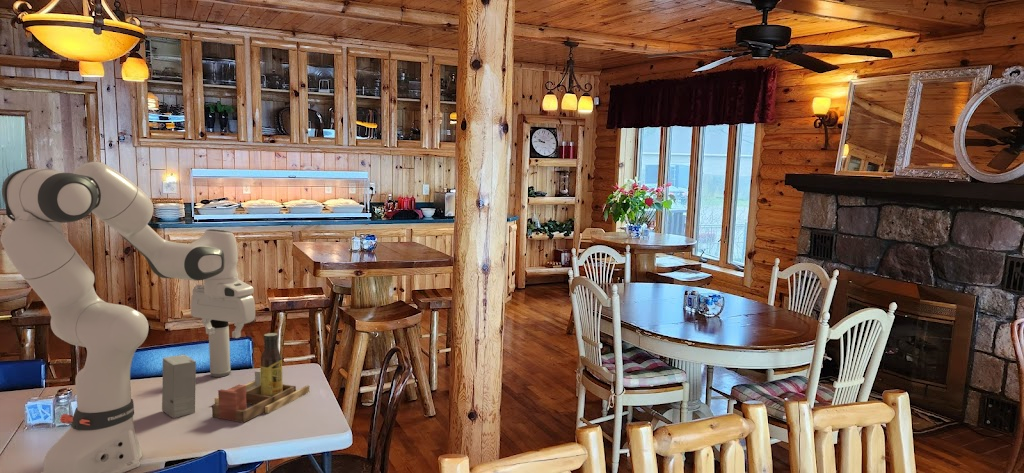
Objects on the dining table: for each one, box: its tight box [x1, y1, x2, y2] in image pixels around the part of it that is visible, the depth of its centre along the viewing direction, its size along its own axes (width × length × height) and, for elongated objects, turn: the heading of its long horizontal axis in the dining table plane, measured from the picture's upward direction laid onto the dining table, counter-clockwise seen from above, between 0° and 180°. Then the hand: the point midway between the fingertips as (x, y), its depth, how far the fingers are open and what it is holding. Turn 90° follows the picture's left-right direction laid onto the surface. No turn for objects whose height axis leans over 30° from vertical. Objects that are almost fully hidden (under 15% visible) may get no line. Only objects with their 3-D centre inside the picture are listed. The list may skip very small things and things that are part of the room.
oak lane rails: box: [214, 379, 310, 414], centre depth 203 cm, size 19×19×2 cm
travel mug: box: [208, 320, 232, 378], centre depth 223 cm, size 6×7×20 cm
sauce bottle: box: [260, 332, 284, 396], centre depth 202 cm, size 6×6×20 cm
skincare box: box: [161, 354, 197, 419], centre depth 191 cm, size 8×7×16 cm
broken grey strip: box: [246, 368, 261, 391], centre depth 206 cm, size 18×4×6 cm, turn 160°
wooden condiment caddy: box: [211, 383, 297, 423], centre depth 196 cm, size 22×11×8 cm, turn 160°
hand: (223, 335), depth 186 cm, fingers open, 8 cm apart
